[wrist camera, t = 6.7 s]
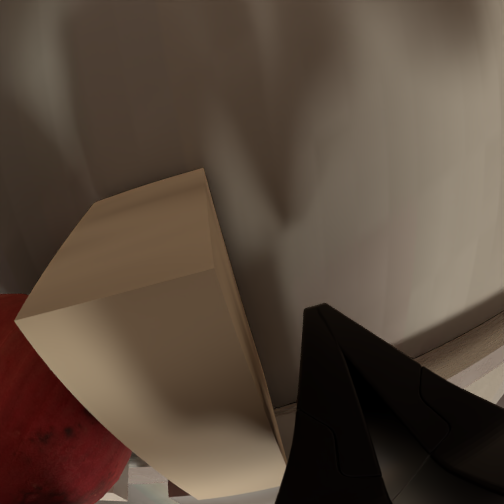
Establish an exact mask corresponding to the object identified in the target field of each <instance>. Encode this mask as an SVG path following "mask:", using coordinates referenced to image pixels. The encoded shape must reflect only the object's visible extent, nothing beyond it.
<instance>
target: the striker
mask: <svg viewBox="0 0 504 504" xmlns="http://www.w3.org/2000/svg"><path fill="white" fill-rule="evenodd" d="M14 321H15V323H16V324H17V326H18V327H19V329H20V330H21V331H22V333H23V334H24V336H25V337H26V338H27V340H28V341H29V342H30V344H31V345H32V346H33V348H34V349H35V350H36V352H37V353H38V354H39V355H40V357H41V358H42V359H43V361H44V362H45V363H46V364H47V365H48V367H49V368H50V369H51V370H52V371H53V373H54V374H55V375H56V376H57V377H58V379H59V380H60V381H61V382H62V383H63V384H64V385H65V387H66V388H67V389H68V390H69V391H70V392H71V393H72V394H73V395H74V396H75V397H76V399H77V400H78V401H79V402H80V403H81V404H82V405H83V406H84V407H85V408H86V409H87V410H88V411H89V412H90V413H91V414H92V415H93V416H94V417H95V418H96V419H97V420H98V421H99V422H100V423H101V424H102V425H103V426H104V427H105V428H106V429H108V430H109V431H110V432H111V433H112V434H113V435H114V436H115V437H116V438H117V439H119V440H120V441H121V442H122V443H123V444H124V445H125V446H127V447H128V448H129V449H130V450H131V451H132V452H134V453H135V454H136V455H137V456H138V457H140V458H141V459H142V460H143V461H145V462H146V463H147V464H148V465H150V466H151V467H152V468H153V469H155V470H156V471H157V472H159V473H160V474H161V475H163V476H164V477H165V478H167V479H168V493H169V498H171V499H173V500H174V501H176V502H178V503H180V504H274V503H275V500H276V497H277V494H278V491H279V488H280V485H281V482H282V478H283V475H284V472H285V468H286V465H287V461H288V457H289V453H290V449H291V445H292V439H293V433H294V426H295V416H296V412H295V413H291V414H288V415H284V416H280V417H277V418H275V414H274V410H273V406H272V403H271V399H270V395H269V391H268V387H267V383H266V380H265V376H264V372H263V369H262V366H261V363H260V359H259V356H258V353H257V350H256V347H255V343H254V340H253V337H252V334H251V330H250V327H249V324H248V320H247V317H246V314H245V310H244V307H243V304H242V301H241V297H240V294H239V290H238V287H237V284H236V280H235V277H234V274H233V270H232V267H231V263H230V260H229V257H228V253H227V250H226V246H225V243H224V239H223V236H222V232H221V229H220V225H219V222H218V218H217V215H216V211H215V208H214V204H213V200H212V197H211V193H210V190H209V186H208V182H207V179H206V175H205V172H204V168H201V169H197V170H194V171H190V172H187V173H183V174H180V175H176V176H173V177H170V178H166V179H163V180H160V181H157V182H153V183H150V184H147V185H144V186H141V187H138V188H135V189H132V190H129V191H126V192H123V193H120V194H117V195H114V196H111V197H108V198H106V199H103V200H100V201H97V202H94V204H93V205H92V206H91V207H90V209H89V210H88V211H87V212H86V214H85V215H84V216H83V218H82V219H81V220H80V222H79V223H78V224H77V225H76V227H75V228H74V229H73V231H72V232H71V234H70V235H69V236H68V238H67V239H66V240H65V242H64V243H63V245H62V246H61V247H60V249H59V250H58V252H57V253H56V255H55V256H54V257H53V259H52V260H51V262H50V263H49V265H48V266H47V268H46V269H45V271H44V272H43V274H42V275H41V277H40V278H39V280H38V282H37V283H36V285H35V286H34V288H33V290H32V291H31V293H30V294H29V296H28V298H27V299H26V301H25V303H24V304H23V306H22V308H21V310H20V311H19V313H18V315H17V317H16V318H15V320H14Z"/></svg>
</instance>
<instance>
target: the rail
mask: <svg viewBox="0 0 504 504" xmlns="http://www.w3.org/2000/svg"><path fill="white" fill-rule="evenodd" d="M414 360H415V361H417V362H418V363H420V364H421V367H422V366H425V367H426V368H428V369H429V370H431V371H432V372H434V373H436V374H437V375H439V376H441V377H442V378H444V379H446V380H447V381H449V382H451V383H453V384H455V385H456V386H458V387H460V388H462V389H464V388H465V387H467V386H469V385H470V384H472V383H473V382H475V381H477V380H478V379H480V378H481V377H483V376H484V375H486V374H487V373H489V372H490V371H492V370H493V369H495V368H496V367H498V366H499V365H501V364H502V363H504V311H503V312H501V313H500V314H498V315H497V316H495V317H493V318H492V319H490V320H488V321H487V322H485V323H483V324H481V325H480V326H478V327H476V328H474V329H473V330H471V331H469V332H467V333H465V334H463V335H462V336H460V337H458V338H456V339H454V340H452V341H450V342H448V343H446V344H444V345H442V346H440V347H438V348H436V349H434V350H432V351H430V352H428V353H426V354H424V355H422V356H419V357H417V358H415V359H414ZM296 408H297V403H293V404H290V405H286V406H283V407H279V408H276V409H273V410H274V414H275V418H277V417H280V416H284V415H288V414H291V413H295V412H296V411H297V409H296ZM164 482H168V479H167V478H165V477H164V476H163V475H161V474H160V473H159V472H157V471H156V470H155V469H153V468H152V467H151V466H150V465H148V464H147V463H146V462H145V461H143V460H142V459H141V458H140V457H138V456H137V455H136V454H135V453H134V452H132V454H131V457H130V459H129V469H128V484H147V483H164Z"/></svg>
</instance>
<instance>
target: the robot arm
mask: <svg viewBox="0 0 504 504" xmlns="http://www.w3.org/2000/svg"><path fill="white" fill-rule="evenodd" d="M296 409H297V411H296V416H295V426H294V433H293V439H292V445H291V449H290V453H289V457H288V461H287V465H286V468H285V472H284V475H283V478H282V482H281V485H280V488H279V491H278V494H277V497H276V500H275V503H274V504H504V408H502V407H500V406H498V405H496V404H493V403H491V402H489V401H487V400H485V399H483V398H481V397H479V396H476V395H474V394H472V393H470V392H468V391H466V390H464V389H462V388H460V387H458V386H456V385H455V384H453V383H451V382H449V381H447V380H446V379H444V378H442V377H441V376H439V375H437V374H436V373H434V372H432V371H431V370H429V369H428V368H426V367H425V366H422V367H421V364H420V363H418V362H417V361H415V360H414V359H412V358H410V357H409V356H407V355H406V354H404V353H403V352H401V351H400V350H398V349H396V348H395V347H393V346H392V345H390V344H389V343H387V342H386V341H384V340H382V339H381V338H379V337H378V336H376V335H375V334H373V333H372V332H370V331H369V330H367V329H365V328H364V327H362V326H361V325H359V324H358V323H356V322H355V321H353V320H351V319H350V318H348V317H347V316H345V315H344V314H342V313H341V312H339V311H338V310H336V309H334V308H333V307H331V306H330V305H328V304H326V303H323V304H319V305H315V306H312V307H308V308H305V309H304V313H303V330H302V346H301V360H300V373H299V385H298V397H297V408H296Z"/></svg>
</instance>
